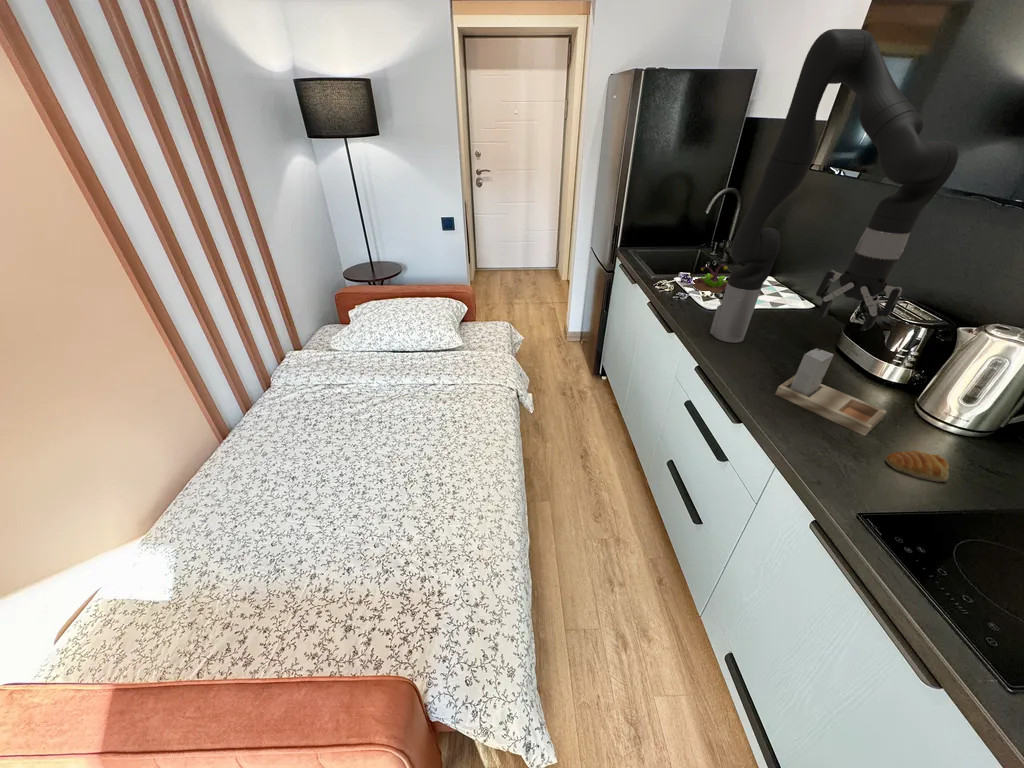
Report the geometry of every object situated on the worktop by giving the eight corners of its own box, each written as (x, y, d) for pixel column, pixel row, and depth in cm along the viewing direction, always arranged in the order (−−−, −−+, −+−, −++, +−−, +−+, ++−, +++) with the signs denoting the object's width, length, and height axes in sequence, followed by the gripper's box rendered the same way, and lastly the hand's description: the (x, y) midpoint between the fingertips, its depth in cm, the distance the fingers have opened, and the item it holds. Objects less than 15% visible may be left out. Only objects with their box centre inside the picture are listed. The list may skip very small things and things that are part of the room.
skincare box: (803, 403, 104) (823, 361, 98) (785, 394, 108) (803, 353, 101) (815, 395, 107) (836, 354, 100) (797, 387, 110) (816, 346, 104)
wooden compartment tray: (775, 394, 108) (778, 386, 106) (793, 381, 113) (797, 373, 111) (864, 436, 94) (870, 427, 93) (881, 419, 99) (886, 411, 98)
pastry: (892, 476, 85) (902, 462, 82) (877, 453, 90) (886, 440, 88) (947, 485, 83) (959, 471, 80) (929, 461, 88) (939, 448, 86)
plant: (734, 306, 155) (744, 276, 149) (680, 295, 163) (687, 267, 157) (741, 288, 169) (750, 261, 163) (690, 280, 177) (697, 253, 171)
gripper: (831, 246, 90) (802, 315, 99) (912, 264, 80) (871, 339, 89) (847, 240, 93) (817, 308, 103) (926, 257, 84) (885, 330, 93)
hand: (842, 322), depth 96 cm, fingers open, 8 cm apart
